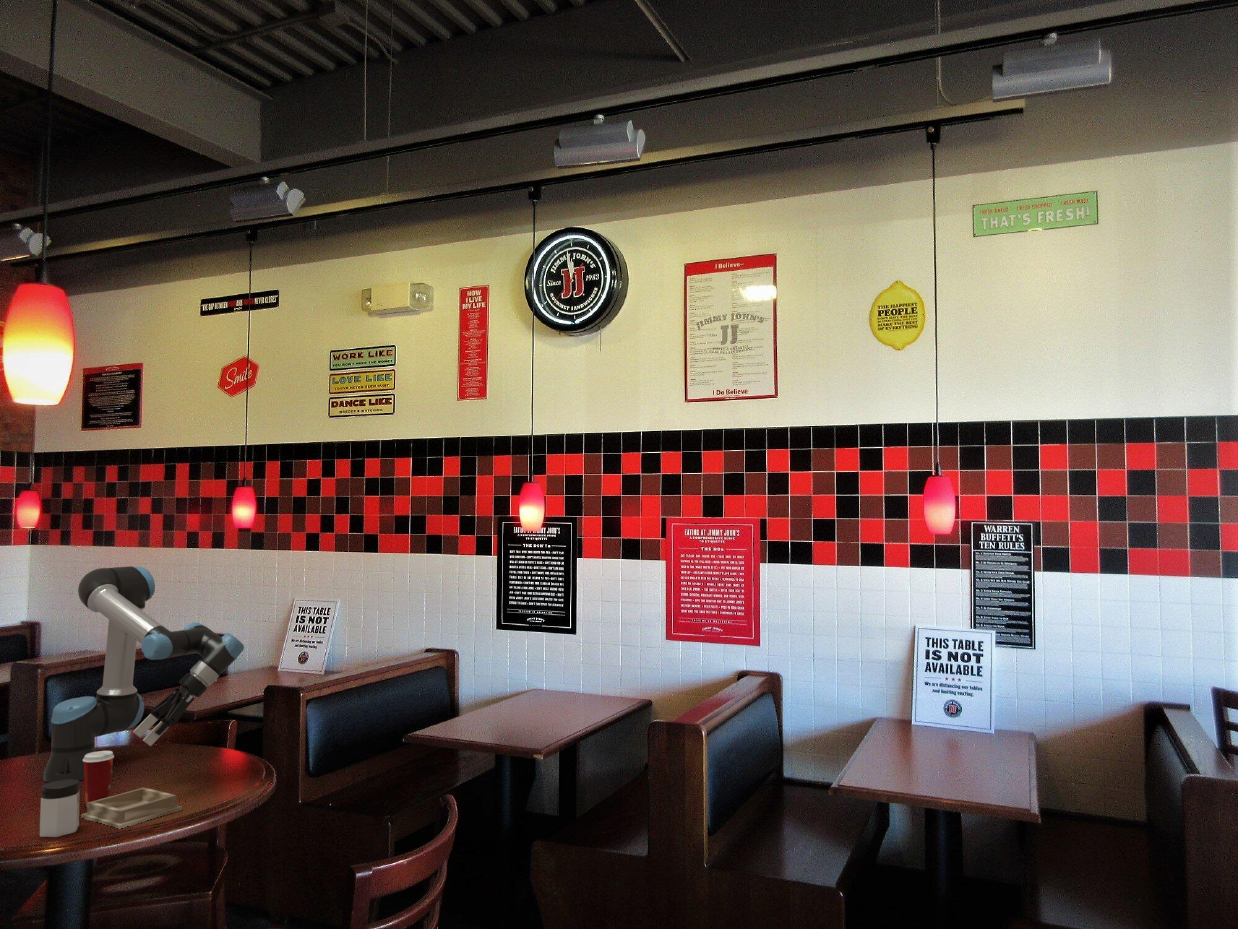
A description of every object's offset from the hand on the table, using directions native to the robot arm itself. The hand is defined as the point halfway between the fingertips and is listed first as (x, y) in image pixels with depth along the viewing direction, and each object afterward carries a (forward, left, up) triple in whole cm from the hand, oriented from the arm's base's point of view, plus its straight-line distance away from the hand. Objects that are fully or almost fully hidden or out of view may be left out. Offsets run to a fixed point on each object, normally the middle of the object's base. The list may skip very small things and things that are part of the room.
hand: (141, 739), depth 251 cm
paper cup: (-4, -10, -16) cm, 20 cm away
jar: (+10, -27, -16) cm, 33 cm away
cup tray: (+13, -10, -16) cm, 23 cm away
